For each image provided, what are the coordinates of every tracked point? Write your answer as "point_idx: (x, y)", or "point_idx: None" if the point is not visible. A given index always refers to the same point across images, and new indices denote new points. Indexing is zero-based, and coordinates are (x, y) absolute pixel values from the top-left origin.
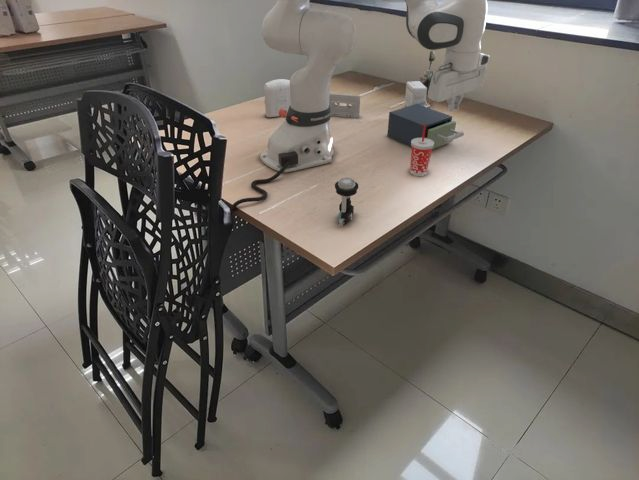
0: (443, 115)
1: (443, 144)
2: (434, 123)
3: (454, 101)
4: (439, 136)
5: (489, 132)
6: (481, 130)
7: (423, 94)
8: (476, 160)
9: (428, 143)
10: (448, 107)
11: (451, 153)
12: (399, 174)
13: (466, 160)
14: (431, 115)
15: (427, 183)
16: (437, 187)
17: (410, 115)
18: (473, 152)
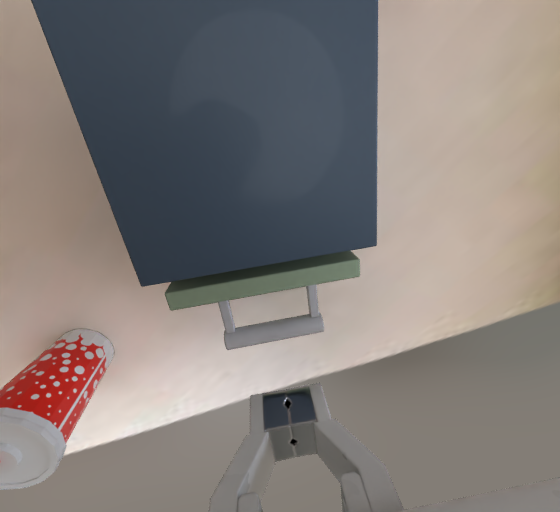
0: (348, 210)
1: None
2: (226, 270)
3: (318, 435)
4: (219, 306)
5: (506, 225)
6: (505, 197)
7: None
8: (299, 354)
9: (26, 466)
10: (250, 415)
11: (269, 294)
12: (14, 339)
13: (274, 344)
14: (286, 172)
15: None
16: (98, 422)
17: (146, 89)
18: (333, 315)
